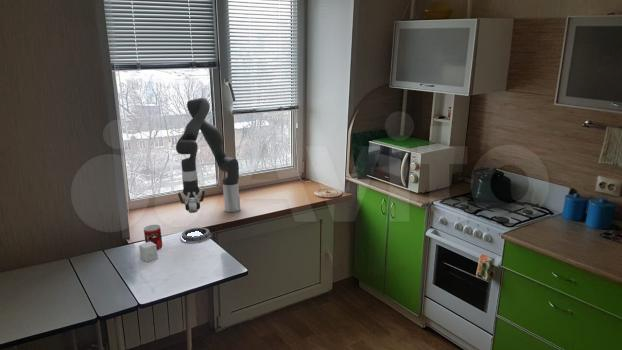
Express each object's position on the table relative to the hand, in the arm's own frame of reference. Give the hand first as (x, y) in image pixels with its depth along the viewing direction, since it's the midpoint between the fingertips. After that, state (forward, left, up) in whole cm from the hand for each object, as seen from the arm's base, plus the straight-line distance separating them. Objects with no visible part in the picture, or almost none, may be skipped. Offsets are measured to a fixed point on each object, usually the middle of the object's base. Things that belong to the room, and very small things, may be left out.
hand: (193, 209), depth 244 cm
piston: (0, 0, -1) cm, 1 cm away
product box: (+23, +20, -16) cm, 34 cm away
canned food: (+21, +7, -16) cm, 27 cm away
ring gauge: (0, 0, -15) cm, 15 cm away
